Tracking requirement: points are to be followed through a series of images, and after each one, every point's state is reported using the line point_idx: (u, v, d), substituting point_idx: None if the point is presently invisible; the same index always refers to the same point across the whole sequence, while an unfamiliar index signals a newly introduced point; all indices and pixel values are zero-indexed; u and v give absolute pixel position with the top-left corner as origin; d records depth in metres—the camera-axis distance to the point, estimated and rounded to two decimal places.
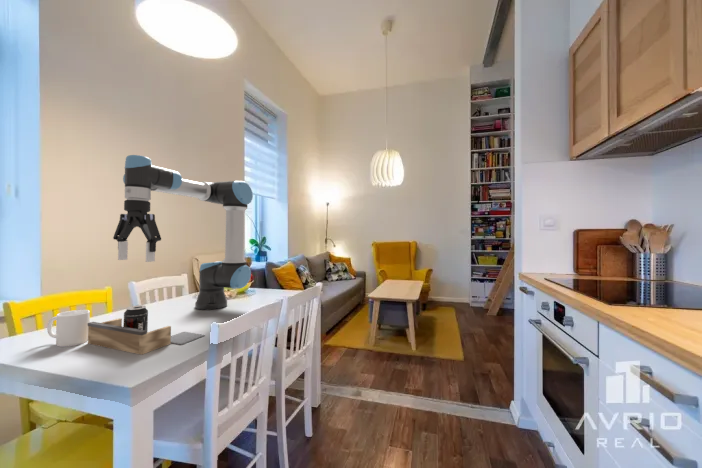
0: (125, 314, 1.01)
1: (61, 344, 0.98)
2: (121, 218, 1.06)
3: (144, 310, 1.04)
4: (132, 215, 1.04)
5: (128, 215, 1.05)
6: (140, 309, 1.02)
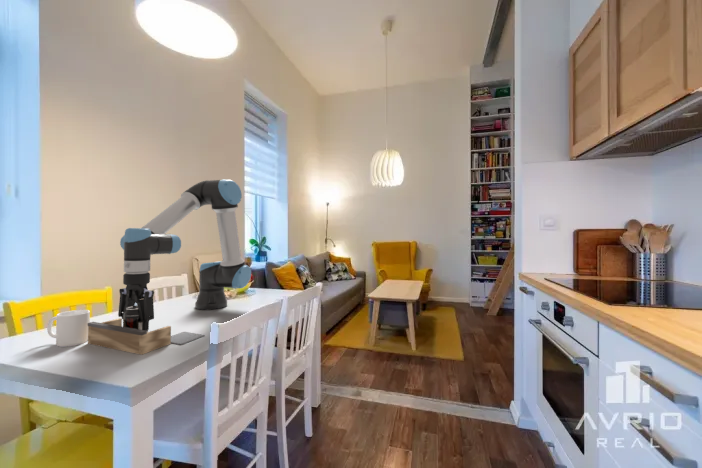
0: (125, 314, 1.01)
1: (61, 344, 0.98)
2: (121, 293, 1.05)
3: None
4: (131, 286, 1.03)
5: (127, 287, 1.04)
6: None
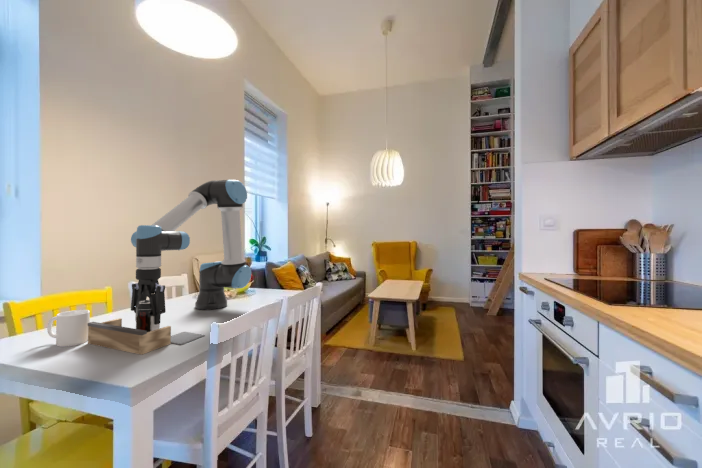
0: (138, 308, 1.05)
1: (61, 344, 0.98)
2: (133, 288, 1.09)
3: None
4: (143, 281, 1.07)
5: (139, 282, 1.08)
6: None
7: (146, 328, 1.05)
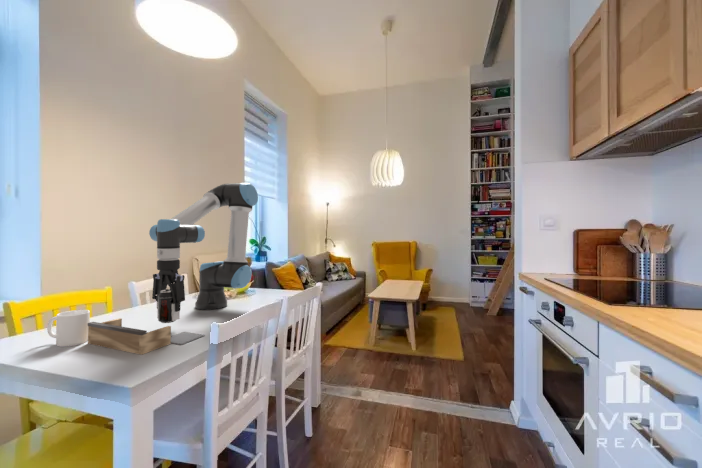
0: (159, 296, 1.12)
1: (61, 344, 0.98)
2: (154, 278, 1.16)
3: None
4: (163, 271, 1.15)
5: (160, 273, 1.15)
6: None
7: (168, 315, 1.13)
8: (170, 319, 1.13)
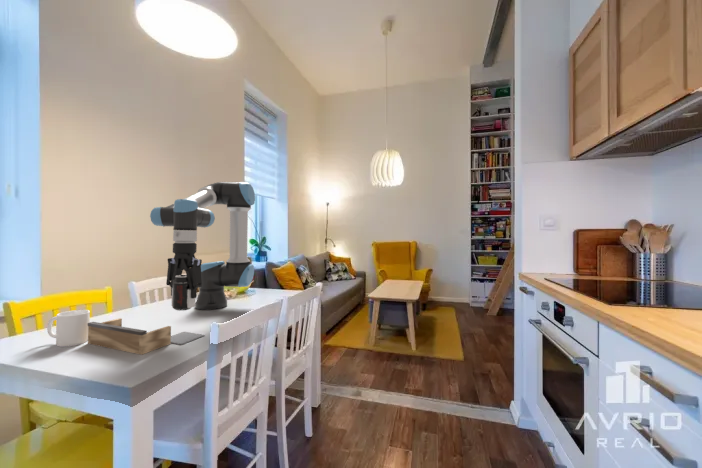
0: (175, 281, 1.05)
1: (61, 344, 0.98)
2: (169, 262, 1.09)
3: None
4: (179, 255, 1.07)
5: (175, 257, 1.08)
6: None
7: (183, 301, 1.05)
8: (185, 306, 1.05)
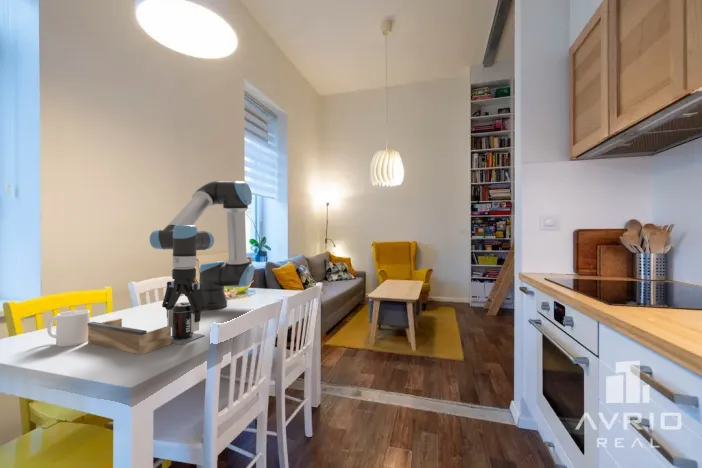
0: (174, 310, 1.05)
1: (61, 344, 0.98)
2: (168, 286, 1.09)
3: (191, 307, 1.08)
4: (179, 282, 1.07)
5: (175, 282, 1.08)
6: (188, 306, 1.07)
7: (182, 330, 1.05)
8: (185, 335, 1.05)
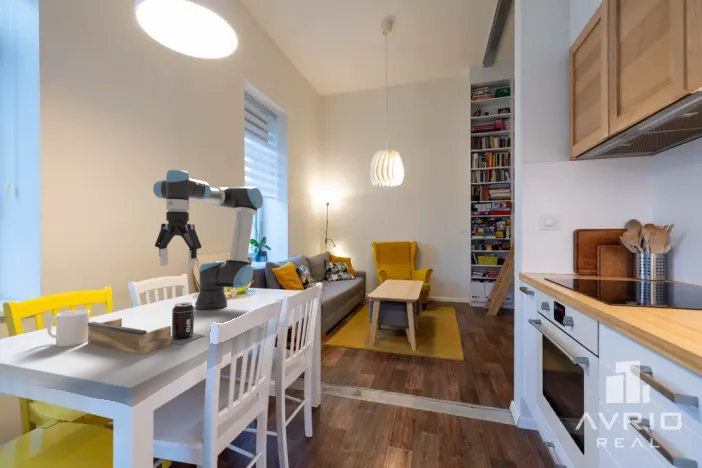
0: (174, 310, 1.05)
1: (61, 344, 0.98)
2: (162, 227, 1.16)
3: (191, 307, 1.08)
4: (173, 225, 1.14)
5: (169, 225, 1.15)
6: (188, 306, 1.07)
7: (182, 330, 1.05)
8: (185, 335, 1.05)
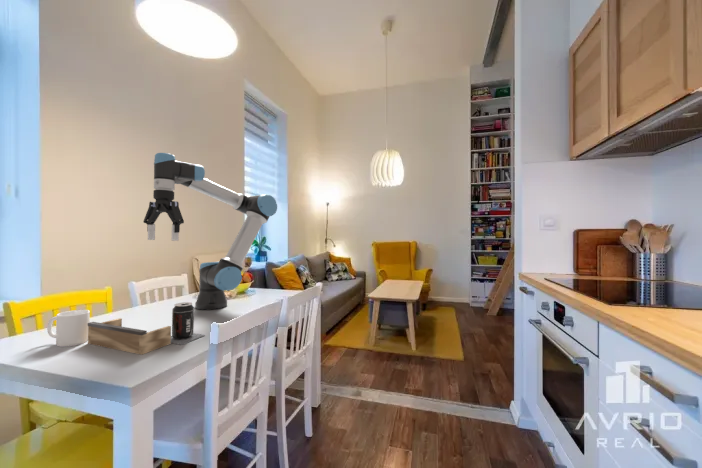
0: (174, 310, 1.05)
1: (61, 344, 0.98)
2: (150, 205, 1.28)
3: (191, 307, 1.08)
4: (160, 202, 1.26)
5: (156, 202, 1.27)
6: (188, 306, 1.07)
7: (182, 330, 1.05)
8: (185, 335, 1.05)
